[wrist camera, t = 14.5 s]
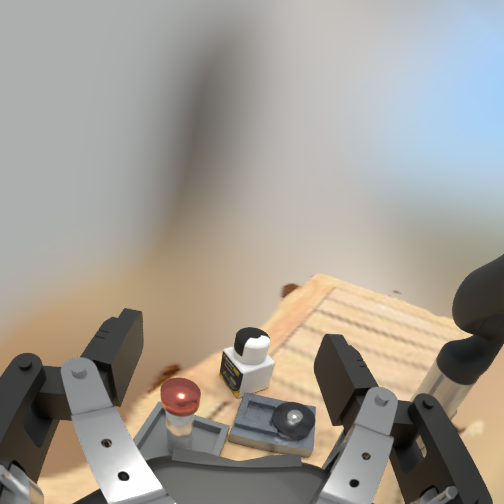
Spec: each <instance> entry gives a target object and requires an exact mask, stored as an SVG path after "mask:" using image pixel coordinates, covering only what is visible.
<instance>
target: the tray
mask: <svg viewBox="0 0 504 504" xmlns="http://www.w3.org/2000/svg"><path fill="white" fill-rule="evenodd" d="M228 431H229V425H225V424H222V423H218V422H215V421H212V420H209V419H205V418H202V417H199V416H196V415H194V424H193V436H192V449H191V450H192V451H200V452H207V453H210V454H213V455H216V456H220V454H221V451H222V448H223V446H224V443H225V440H226V437H227V435H228ZM133 441H134V443H135V445H136V447H137V448H138V450H139V452H140V453H141V455H142V457H143V458H144V460H145V461H146V460H148V459H151V458H155V457H159V456H167V455H172V454H171V453H170V452H169V450H168V445H167V430H166V410H165V409H164V408H163V406H162V404H161V402H158V403H157V405H156V406H155V408H154V409H153V411H152V412H151V414H150V415H149V417H148V418H147V420H146V421H145V423H144V424H143V426H142V427H141V429H140V430H139V432H138V433H137V435H136V436H135V438H134V439H133Z"/></svg>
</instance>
